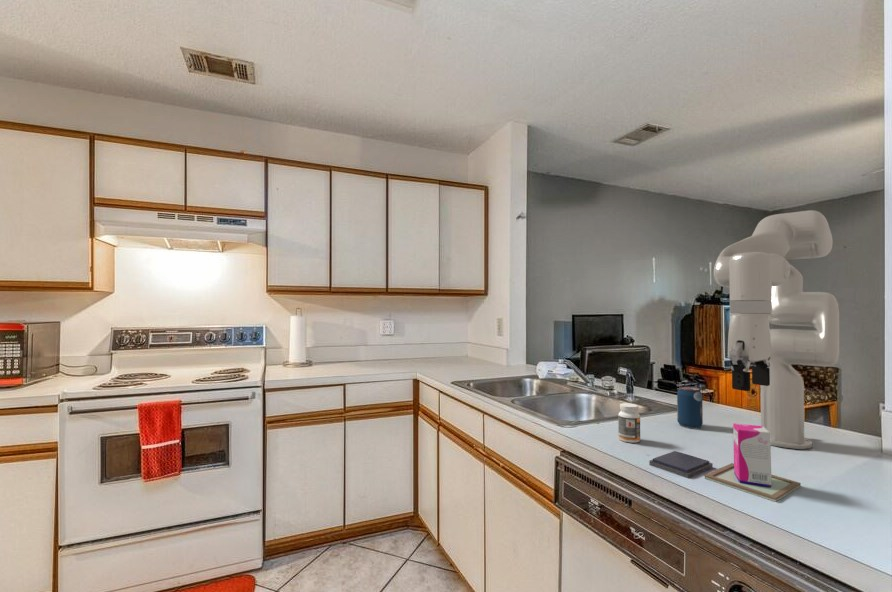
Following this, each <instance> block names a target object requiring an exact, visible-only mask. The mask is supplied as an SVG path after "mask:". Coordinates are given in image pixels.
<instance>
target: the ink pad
mask: <svg viewBox="0 0 892 592" xmlns="http://www.w3.org/2000/svg"><path fill="white" fill-rule="evenodd" d="M648 463H649V466H651V467H655V468H658V469H660V470H664V471H667V472H669V473H673V474H676V475H678V476H681V477H684V478H687V479H689V478H691V477H695V476H696V475H698V474H701V473H704V472H706V471H708V470H711V469H713V462H710V460H708V459H703V458H701V457H697V456H693V455H690V454H686V453H683V452H680V451H677V450H674V451H670V452H669V453H666V454H662V455H660V456H655V457H654V458H652V459H650V460H649V461H648Z"/></svg>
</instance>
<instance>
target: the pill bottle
mask: <svg viewBox="0 0 892 592" xmlns="http://www.w3.org/2000/svg"><path fill="white" fill-rule="evenodd" d="M619 409H620V411H619V412H618V419H617V420H618V422H617V425H618V429H617V430H618V432H617V433H618V439H619V440H620V441H621V442H625V443H629V444H630V443H633V444H636V443H639V442H640V441H641V415H640V413H639V412H638V411H639V406H638V405H637V404H635V403H628V402H626V403H625V402H624V403H620V404H619Z"/></svg>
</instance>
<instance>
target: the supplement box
mask: <svg viewBox="0 0 892 592" xmlns="http://www.w3.org/2000/svg"><path fill="white" fill-rule="evenodd" d="M732 428H733V429H732V432H733V435H732V437H733V439H732V440H733V464H734V474H735V475H736V477H737V479H738V481H739V483H744V484H751V485H757V486H764V487H770V488H771V487H772V480H771V474H772V456H771V455H772V452H771V451H772V448H771V446H772V445H771V444H770V432H769V431H768V430H766V429H765V428H764V427H763V426H761V425H754V424H753V425H752V424H746V423H745V424H744V423H733V425H732Z"/></svg>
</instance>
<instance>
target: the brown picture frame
mask: <svg viewBox="0 0 892 592" xmlns="http://www.w3.org/2000/svg"><path fill="white" fill-rule="evenodd" d="M704 479H705V480H708V481H712V482H715V483H718V484H721V485H722V486H723V485H724V486H727V487H730V488H733V489H736V490H739V491H742V492H744V493H747V494H751V495H754V496H756V497H760V498H763V499H766V500H770V501H772V502H778V501H779V500H781V499H783V498H784V497H785V496H787V495H790V494H791V493H793V492H794V491H795V490H797V489H798V488H801V486H802V485H801V483H802V482H798V481H796V480H792V479H790V478H789V479H788V478H785V477H781V476H778V475H774V474H772V473H771V480H772V487H771V488H770V487H764V486H757V485H751V484H744V483H739V481H738V479H737V477H736V475H735V474H734V462H731V463H729V464H726V465H725V466H722V467H720V468H718V469H715V470H713V471H711V472H709V473H706V474H704Z"/></svg>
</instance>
